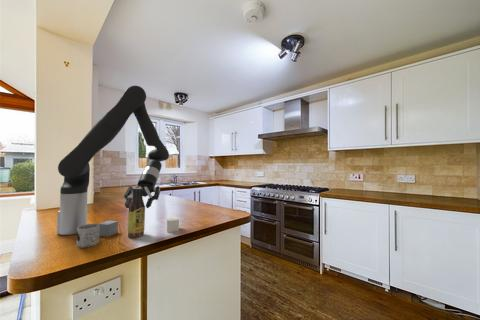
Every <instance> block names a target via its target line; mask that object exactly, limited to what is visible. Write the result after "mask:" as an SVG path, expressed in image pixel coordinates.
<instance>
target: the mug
mask: <svg viewBox="0 0 480 320" xmlns="http://www.w3.org/2000/svg"><path fill="white" fill-rule="evenodd" d="M99 243H100V236H99V223H87V225H82V226H79V227H78V228H77V233H76V248H78V249H81V248H90V247H94V246H97V245H98V244H99Z"/></svg>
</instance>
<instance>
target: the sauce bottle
mask: <svg viewBox="0 0 480 320" xmlns="http://www.w3.org/2000/svg"><path fill="white" fill-rule="evenodd" d="M132 192H133V196H132V201H131V202H130V204H129V208H128V210H127V211H128V215H127V217H128V218H127V237H128V238H131V239H133V238H139V237H142V236H143V235H144V233H145V226H146V225H145V222H146V221H145V220H146V219H145V218H146V204H145V203H144V199H143V196H142V192H143V188H133V189H132Z"/></svg>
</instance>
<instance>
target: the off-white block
mask: <svg viewBox="0 0 480 320" xmlns="http://www.w3.org/2000/svg"><path fill="white" fill-rule="evenodd" d="M179 224H180V220H179V217H178V216H176V217H167V218H166V233H170V232H172V233H173V232H179V231H180V225H179Z"/></svg>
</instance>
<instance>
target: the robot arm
mask: <svg viewBox="0 0 480 320" xmlns="http://www.w3.org/2000/svg"><path fill="white" fill-rule="evenodd" d="M146 100H147V93H146V91H145V89H144V88H143V87H141V86H139V85H129V86H128V87H127V88H126V89H125V91H124V93H123V94H122V96H121V97H120V98H119V100H118V101H117V103H115V105H114V106H113V107H111V108H110V109H109V110H108V111H107V112H105V114H103V115H102V116H101V118H100V119H98V121H97V122H96V123H95V124H94V125H93V127H91V129H90V130H89V131H88V132H87V133H86V135H85V136H84V137H83V138H82V139H81V141H80V142H79V143H78V145H77V146H75V147H74V148H73V149H72V150H71V151H70V152H69V153H67V155H66V156H64V157H63V158H62V159H61V160H60V161H59V162H58V165H57V172H58V173H59V174H60V175H61V176H62V177H63V183H62V185H61V187H60V190H59V191H60V197H59V210H58V211H57V213H56V215H57V217H56V220H57V221H56V234H57V235H61V236H68V235H75V234H76V235H77V228H78V227H79V226H82V225H87V224H88V189H89V185H90V171H91V170H90V168H91V167H90V161H91V160H92V159H93V158H94V157H95V155H96V154H97V153H98V152H100V151H101V150H102V149H103V148H104V147H106V146H107V145H109V144H110V143H111V142H112V141H113V140H114V139H115V137H117V135H118V134H119V133H120V131H121V130H122V129H123V127H124V126H125V124H126V123H127V121H128V119H129V118H130V117H131V115H132V114H133V115H134V117H135V119H136V121H137V123H138V126H139V128H140V131H141V134H142V136H143V139H144V141H145V144H146V145H147V146H148V147H154V148H155V149H152V150H151V151H150V150H149V152H148V154H147V161H146V162H147V163H146V165H145V168H144V169H143V171H142V172H141V175H140V177H139V180H138V181H137V185H136V186H135V187H133V186H131V185H130V186H128V188H127V189H126V191H125V193H124V195H123V197H124V199H125V203H124V207H125V208H126V209H129V204H130V202H131V201H132V197H133V192H132V189H133V188H143V192H142V197H148V199H147V200H146V204H145V208H147V209H150V207H152V204H153V201H158V200H159V197H160V193H161V188H160V186H159V185H157V186H156V184H157V182H158V179H159V176H160V173H161V170H162V165H163V164H162V162H164V161H167V160H168V159H169V157H170V153H169V150H168V149H167V147H166V145H164V143H163V142H162V141H161V139H160V136H159V134H158V132H157V129H156V127H155V124H154V123H153V121H152V119H151V118H150V116H149V114H148V112H147V108H146V103H145V102H146ZM153 192H154V194H153V195H152V193H153Z"/></svg>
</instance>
